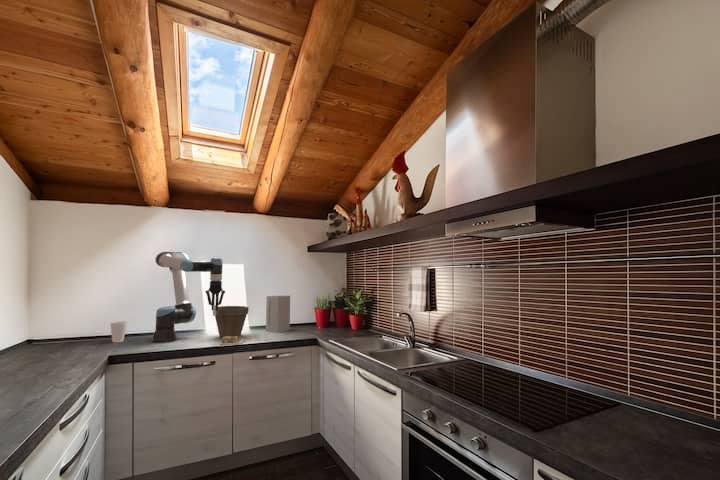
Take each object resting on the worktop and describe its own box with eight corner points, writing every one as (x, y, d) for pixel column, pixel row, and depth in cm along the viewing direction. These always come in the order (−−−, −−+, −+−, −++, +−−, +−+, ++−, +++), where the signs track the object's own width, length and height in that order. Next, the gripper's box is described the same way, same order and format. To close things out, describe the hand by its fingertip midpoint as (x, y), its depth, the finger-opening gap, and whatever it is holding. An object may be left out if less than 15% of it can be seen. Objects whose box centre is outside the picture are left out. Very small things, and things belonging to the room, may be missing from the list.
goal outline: (219, 345, 241) (219, 343, 241) (224, 341, 254) (224, 340, 254) (241, 344, 243) (241, 343, 243) (244, 340, 256) (244, 339, 256)
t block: (222, 344, 244) (222, 338, 244) (225, 341, 252) (225, 336, 252) (236, 343, 245) (236, 337, 245) (238, 341, 253) (238, 335, 253)
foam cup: (127, 341, 253) (128, 322, 254) (111, 343, 247) (112, 323, 248) (123, 339, 260) (124, 321, 261) (108, 341, 253) (109, 322, 254)
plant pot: (254, 335, 279) (255, 306, 280) (231, 340, 256) (231, 309, 258) (230, 332, 289) (230, 305, 291) (205, 337, 267) (206, 307, 269)
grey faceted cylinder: (267, 333, 287) (267, 297, 290) (265, 330, 301) (266, 296, 304) (291, 331, 293) (292, 296, 296) (289, 329, 307) (289, 295, 310)
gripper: (204, 280, 246) (202, 316, 245) (224, 280, 248) (223, 316, 246) (207, 280, 254) (206, 314, 252) (227, 280, 255) (225, 314, 254)
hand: (214, 315), depth 249 cm, fingers closed
